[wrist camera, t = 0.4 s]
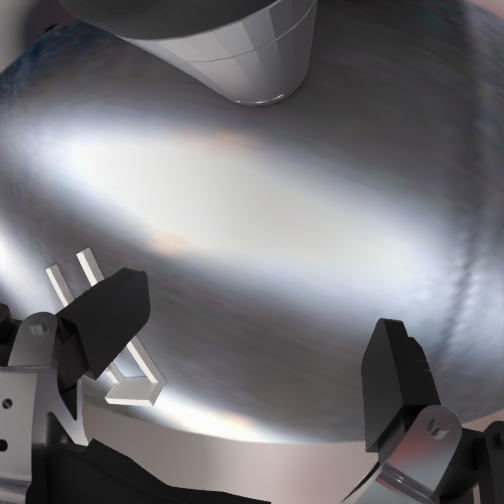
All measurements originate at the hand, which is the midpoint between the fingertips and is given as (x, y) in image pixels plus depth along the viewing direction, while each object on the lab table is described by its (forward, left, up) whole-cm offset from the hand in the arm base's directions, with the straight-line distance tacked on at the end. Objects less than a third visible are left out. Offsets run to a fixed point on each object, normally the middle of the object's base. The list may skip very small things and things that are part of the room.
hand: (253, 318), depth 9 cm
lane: (+14, -25, -18) cm, 34 cm away
